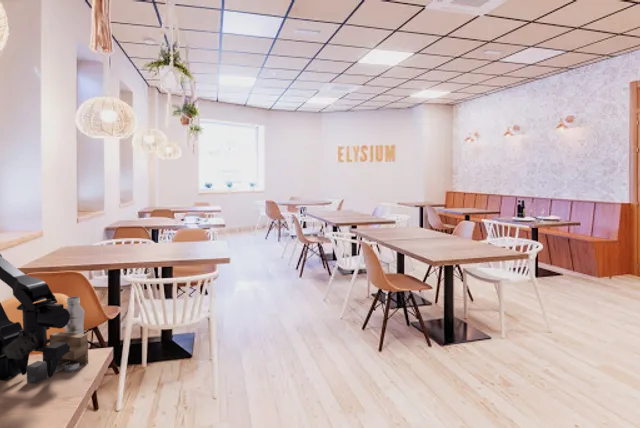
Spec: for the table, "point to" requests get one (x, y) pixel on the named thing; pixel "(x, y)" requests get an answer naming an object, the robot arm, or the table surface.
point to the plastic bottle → (75, 316)
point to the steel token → (72, 367)
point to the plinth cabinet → (72, 346)
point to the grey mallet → (40, 371)
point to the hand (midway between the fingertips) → (37, 376)
